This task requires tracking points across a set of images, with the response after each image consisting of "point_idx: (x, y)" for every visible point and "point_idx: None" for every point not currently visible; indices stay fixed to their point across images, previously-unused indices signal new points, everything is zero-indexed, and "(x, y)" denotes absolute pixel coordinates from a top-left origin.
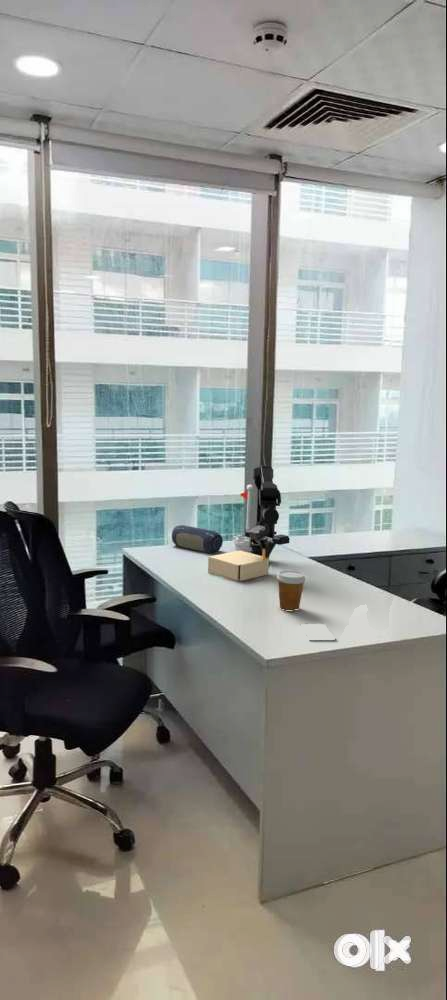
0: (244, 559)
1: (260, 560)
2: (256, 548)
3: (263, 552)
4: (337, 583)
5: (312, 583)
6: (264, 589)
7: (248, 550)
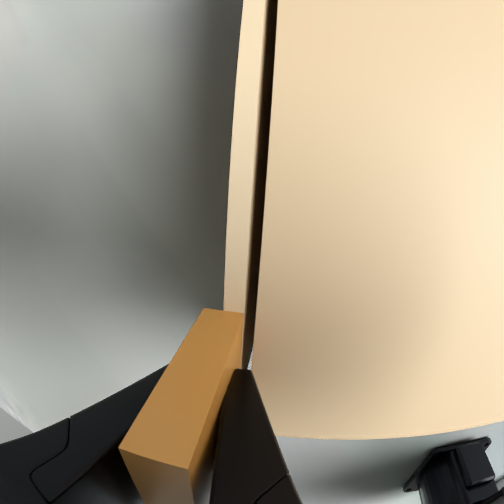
0: (458, 123)
1: (241, 268)
2: (472, 500)
3: (186, 397)
4: (7, 376)
5: (17, 323)
6: (66, 24)
7: (500, 484)
